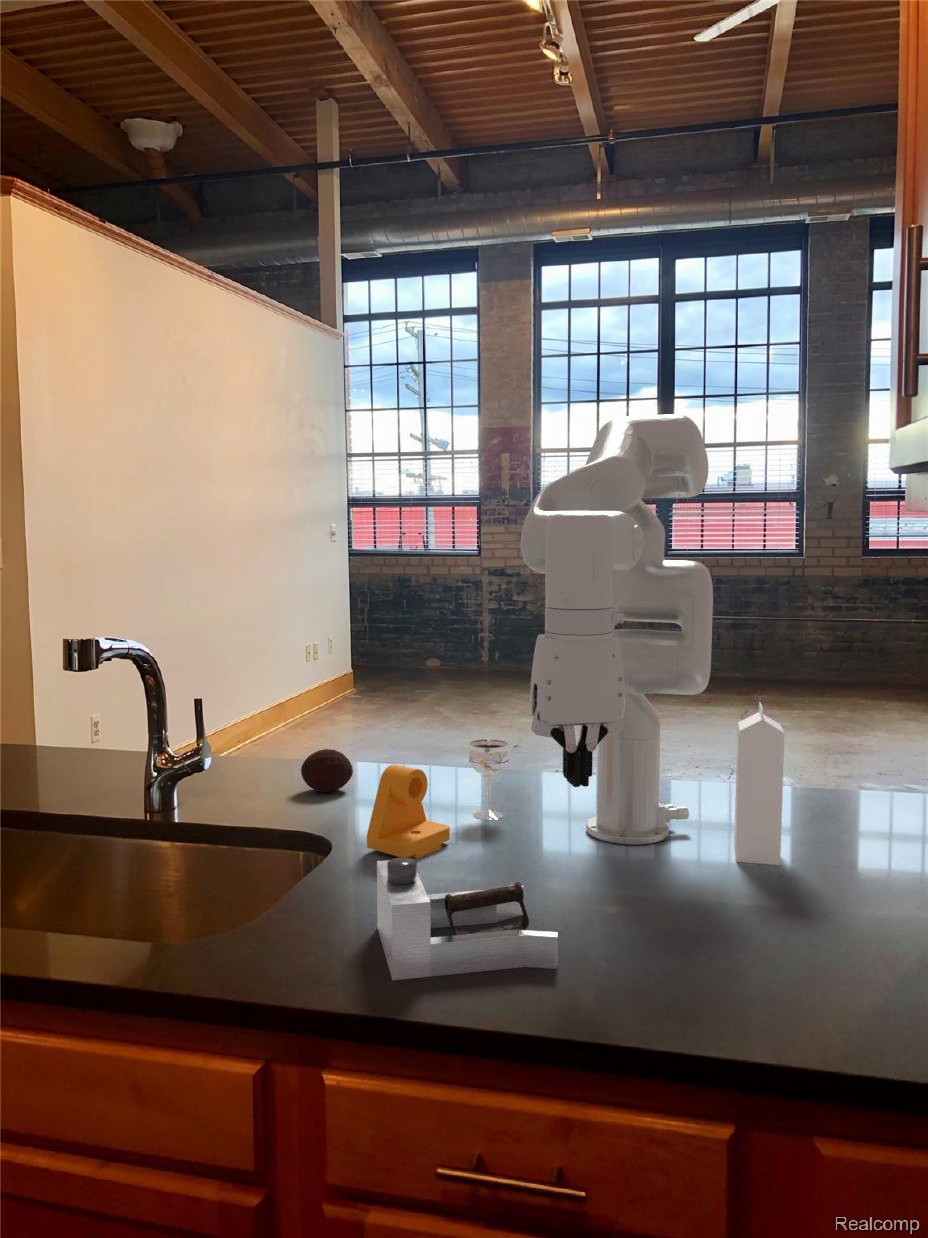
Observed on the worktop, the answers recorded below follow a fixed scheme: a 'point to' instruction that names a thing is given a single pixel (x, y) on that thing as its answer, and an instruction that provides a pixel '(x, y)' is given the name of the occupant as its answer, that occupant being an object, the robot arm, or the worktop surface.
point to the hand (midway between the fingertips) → (577, 783)
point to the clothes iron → (487, 899)
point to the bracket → (403, 816)
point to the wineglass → (488, 767)
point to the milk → (759, 790)
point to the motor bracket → (415, 913)
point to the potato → (326, 770)
